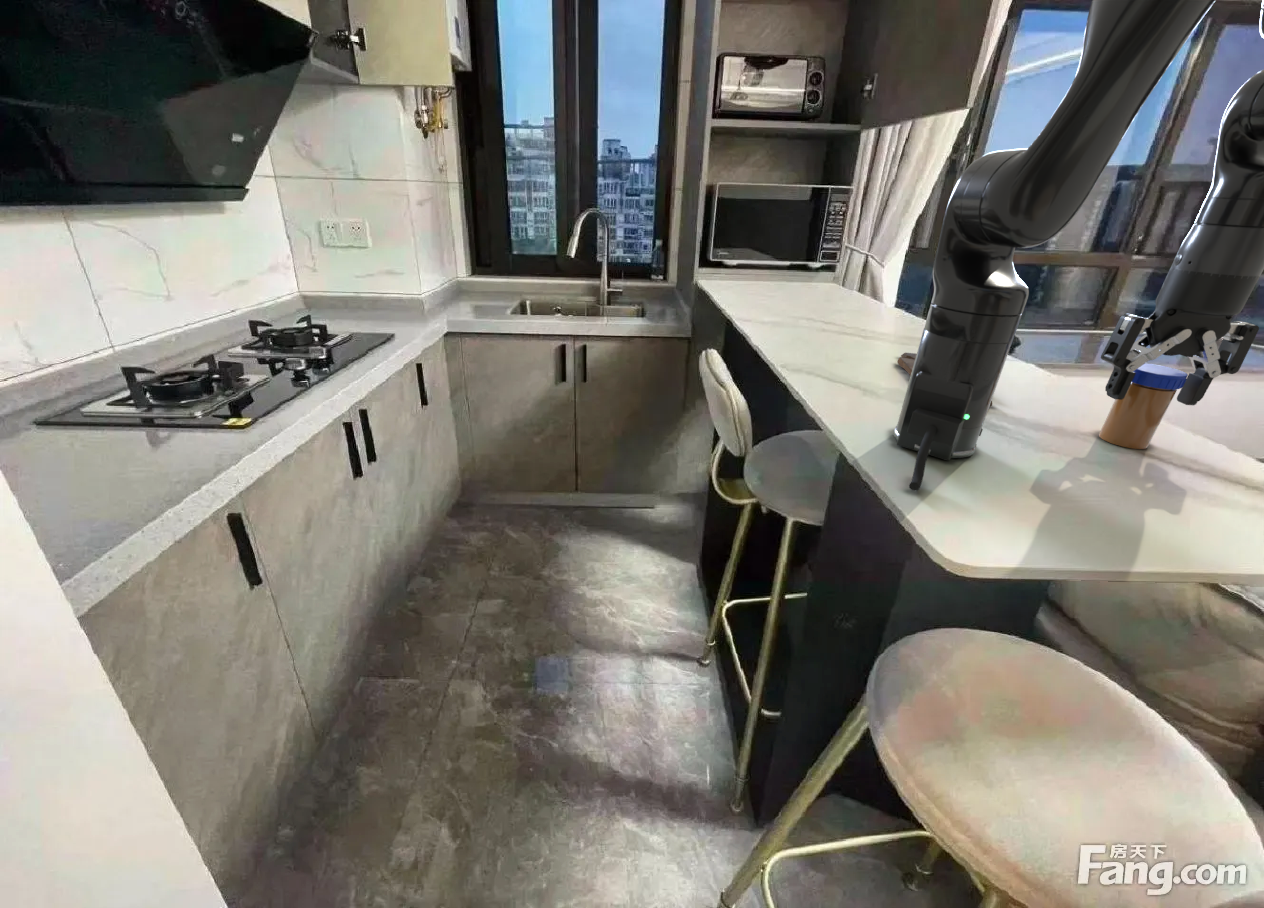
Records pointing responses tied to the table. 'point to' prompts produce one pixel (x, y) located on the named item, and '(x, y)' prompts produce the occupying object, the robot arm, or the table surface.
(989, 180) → the robot arm
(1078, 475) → the table surface
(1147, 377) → the lid
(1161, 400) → the jar
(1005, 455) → the table surface
